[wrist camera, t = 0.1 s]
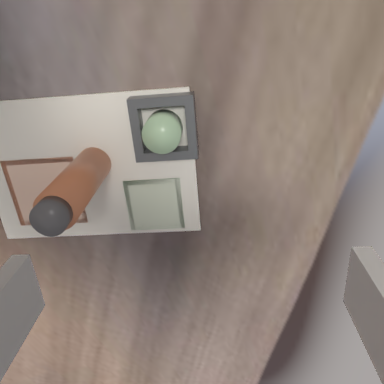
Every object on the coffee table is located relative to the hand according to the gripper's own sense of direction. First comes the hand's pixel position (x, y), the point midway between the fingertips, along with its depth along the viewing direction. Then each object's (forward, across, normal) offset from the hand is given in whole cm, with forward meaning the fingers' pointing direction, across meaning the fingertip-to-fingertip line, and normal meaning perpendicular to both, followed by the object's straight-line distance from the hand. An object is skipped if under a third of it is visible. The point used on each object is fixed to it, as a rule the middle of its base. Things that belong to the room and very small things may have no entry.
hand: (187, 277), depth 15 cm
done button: (+28, -4, -1) cm, 28 cm away
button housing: (+28, -4, -1) cm, 28 cm away
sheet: (+28, -14, -6) cm, 32 cm away
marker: (+28, -13, -5) cm, 31 cm away
